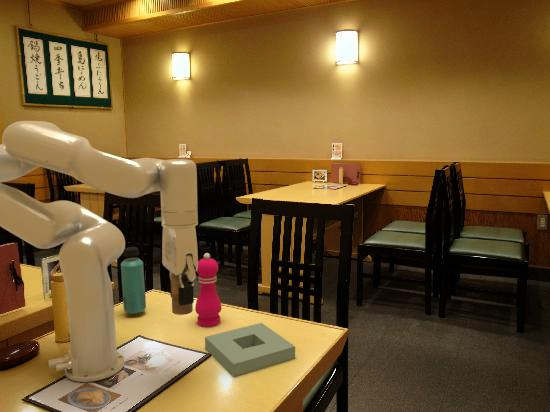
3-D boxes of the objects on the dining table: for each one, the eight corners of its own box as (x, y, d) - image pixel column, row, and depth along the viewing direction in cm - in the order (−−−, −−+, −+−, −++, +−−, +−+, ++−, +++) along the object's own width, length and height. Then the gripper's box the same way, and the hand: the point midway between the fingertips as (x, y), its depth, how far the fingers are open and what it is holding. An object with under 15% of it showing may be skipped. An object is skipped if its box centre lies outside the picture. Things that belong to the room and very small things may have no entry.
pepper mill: (208, 330, 126) (206, 258, 123) (190, 323, 130) (187, 253, 127) (227, 321, 132) (225, 252, 128) (208, 315, 136) (206, 248, 133)
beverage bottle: (151, 312, 138) (148, 246, 135) (133, 320, 133) (129, 251, 129) (136, 308, 142) (132, 244, 138) (118, 315, 136) (114, 248, 133)
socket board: (234, 377, 102) (233, 364, 101) (205, 348, 115) (204, 336, 115) (295, 358, 110) (295, 346, 110) (261, 333, 124) (261, 322, 123)
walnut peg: (176, 316, 99) (175, 275, 98) (169, 309, 103) (168, 270, 102) (195, 312, 102) (194, 272, 100) (188, 305, 105) (187, 267, 104)
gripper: (150, 213, 104) (153, 292, 107) (176, 227, 90) (178, 317, 93) (182, 210, 108) (184, 286, 111) (212, 223, 94) (213, 309, 97)
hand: (182, 299), depth 102 cm, fingers closed on walnut peg, 4 cm apart
